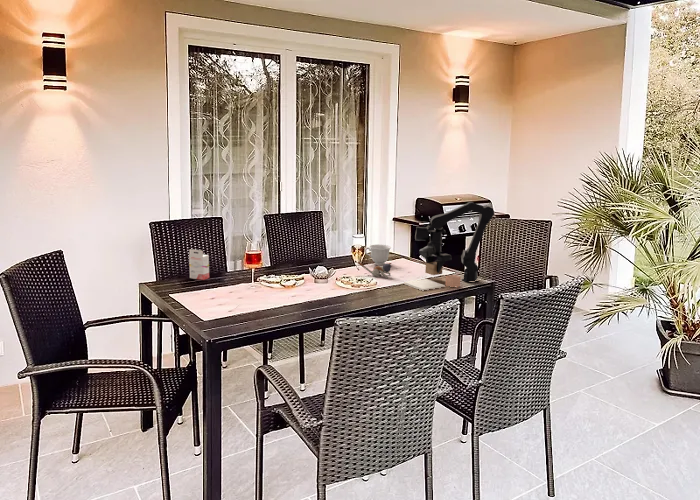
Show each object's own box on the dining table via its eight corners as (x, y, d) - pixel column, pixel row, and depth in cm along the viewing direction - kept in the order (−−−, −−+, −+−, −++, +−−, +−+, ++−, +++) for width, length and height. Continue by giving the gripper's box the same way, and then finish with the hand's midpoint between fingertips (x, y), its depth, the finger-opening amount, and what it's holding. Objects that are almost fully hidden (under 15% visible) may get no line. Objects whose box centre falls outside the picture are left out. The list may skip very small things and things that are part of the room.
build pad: (426, 280, 296) (426, 278, 296) (444, 287, 285) (445, 285, 285) (404, 284, 289) (404, 282, 288) (422, 291, 277) (422, 289, 277)
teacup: (361, 262, 333) (362, 244, 331) (386, 261, 337) (387, 244, 335) (367, 267, 322) (367, 249, 320) (393, 266, 325) (393, 248, 323)
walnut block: (434, 271, 302) (434, 261, 301) (442, 273, 297) (442, 264, 296) (425, 272, 299) (425, 263, 298) (433, 275, 294) (433, 265, 293)
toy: (384, 284, 299) (393, 268, 296) (354, 266, 301) (363, 250, 298) (387, 280, 308) (396, 264, 305) (358, 262, 309) (366, 246, 307)
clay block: (452, 284, 291) (453, 274, 290) (459, 287, 287) (460, 277, 286) (445, 285, 288) (445, 276, 287) (452, 288, 284) (452, 278, 283)
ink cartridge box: (209, 278, 290) (209, 248, 287) (203, 280, 285) (203, 250, 282) (195, 276, 293) (194, 247, 290) (189, 278, 288) (188, 248, 285)
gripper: (411, 239, 298) (409, 268, 301) (435, 245, 283) (433, 277, 286) (428, 237, 304) (426, 266, 307) (452, 243, 289) (450, 274, 292)
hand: (433, 271), depth 298 cm, fingers closed on walnut block, 6 cm apart
